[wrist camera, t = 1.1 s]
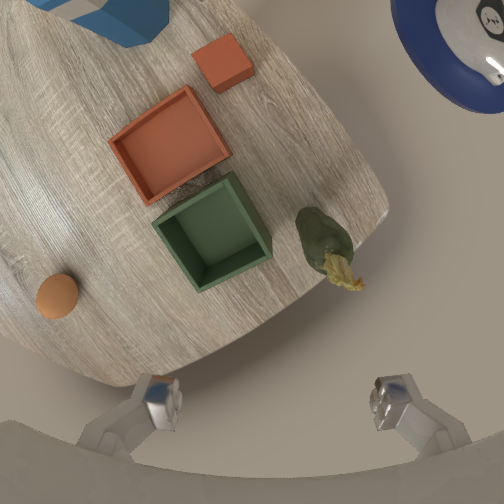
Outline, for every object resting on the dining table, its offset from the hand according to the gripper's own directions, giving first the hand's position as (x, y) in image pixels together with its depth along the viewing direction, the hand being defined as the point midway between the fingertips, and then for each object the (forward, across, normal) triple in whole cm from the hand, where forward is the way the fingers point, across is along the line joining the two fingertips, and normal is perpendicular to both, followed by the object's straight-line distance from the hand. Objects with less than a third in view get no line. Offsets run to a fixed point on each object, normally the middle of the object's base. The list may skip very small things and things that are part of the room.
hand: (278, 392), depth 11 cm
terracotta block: (+30, +5, -18) cm, 35 cm away
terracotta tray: (+30, +12, -8) cm, 33 cm away
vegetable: (+30, -5, 0) cm, 30 cm away
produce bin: (+30, +7, +2) cm, 31 cm away
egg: (+30, +33, +12) cm, 46 cm away
